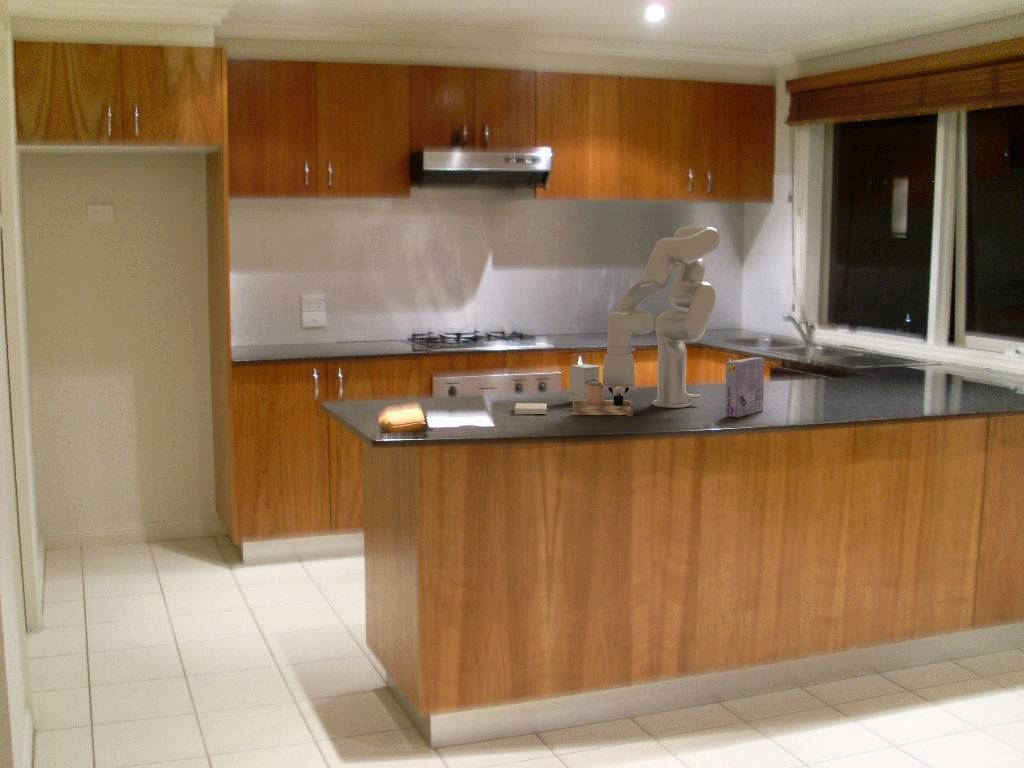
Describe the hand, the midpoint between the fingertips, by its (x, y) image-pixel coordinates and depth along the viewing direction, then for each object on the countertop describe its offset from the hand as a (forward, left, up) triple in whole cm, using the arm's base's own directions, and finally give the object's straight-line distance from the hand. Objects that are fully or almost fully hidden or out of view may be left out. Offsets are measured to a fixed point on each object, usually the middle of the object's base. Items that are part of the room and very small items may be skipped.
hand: (618, 407), depth 352 cm
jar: (+8, 0, -2) cm, 8 cm away
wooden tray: (+5, 0, -2) cm, 5 cm away
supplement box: (+11, -20, -2) cm, 23 cm away
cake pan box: (-40, 0, -2) cm, 40 cm away
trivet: (+28, 0, -2) cm, 28 cm away
